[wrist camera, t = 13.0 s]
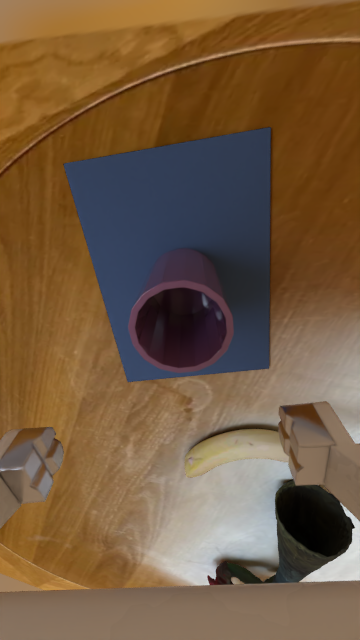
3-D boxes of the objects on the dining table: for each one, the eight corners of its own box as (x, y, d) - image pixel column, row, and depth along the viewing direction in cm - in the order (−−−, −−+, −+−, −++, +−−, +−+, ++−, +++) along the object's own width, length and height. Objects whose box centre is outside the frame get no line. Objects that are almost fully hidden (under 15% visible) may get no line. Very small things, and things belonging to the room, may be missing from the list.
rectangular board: (65, 164, 21) (62, 163, 21) (269, 128, 20) (270, 126, 19) (128, 379, 31) (127, 382, 31) (268, 366, 30) (269, 368, 29)
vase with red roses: (273, 435, 45) (247, 551, 60) (192, 505, 35) (183, 627, 49) (380, 513, 34) (316, 632, 49) (311, 651, 24) (254, 753, 38)
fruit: (178, 426, 34) (178, 449, 31) (299, 418, 33) (310, 441, 30) (185, 462, 38) (185, 486, 35) (295, 456, 36) (305, 480, 33)
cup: (141, 253, 24) (117, 288, 16) (216, 243, 23) (230, 274, 15) (155, 319, 27) (140, 376, 19) (221, 311, 26) (236, 367, 18)
